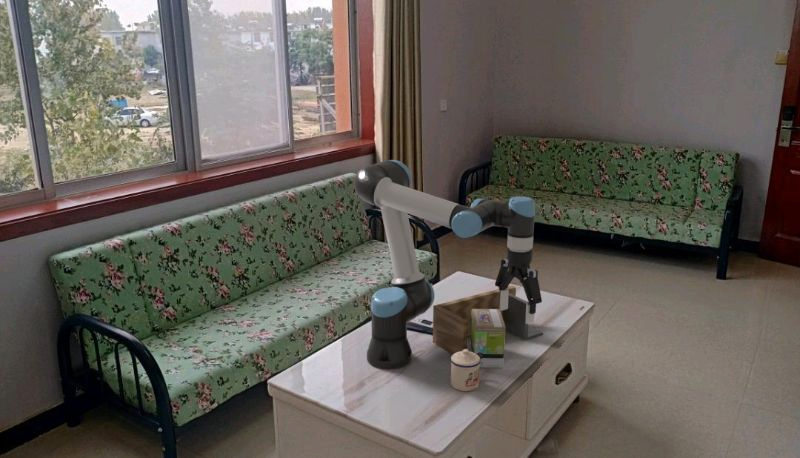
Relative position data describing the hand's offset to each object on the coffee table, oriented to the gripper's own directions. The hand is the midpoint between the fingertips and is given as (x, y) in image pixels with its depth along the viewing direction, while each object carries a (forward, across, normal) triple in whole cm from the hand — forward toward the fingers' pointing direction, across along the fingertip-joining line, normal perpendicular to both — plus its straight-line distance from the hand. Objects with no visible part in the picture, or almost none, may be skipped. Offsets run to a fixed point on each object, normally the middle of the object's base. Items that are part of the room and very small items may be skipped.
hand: (516, 315), depth 196 cm
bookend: (+20, +22, -24) cm, 38 cm away
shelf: (+20, +23, -9) cm, 32 cm away
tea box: (+20, +13, 0) cm, 24 cm away
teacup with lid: (+20, +4, +16) cm, 26 cm away
